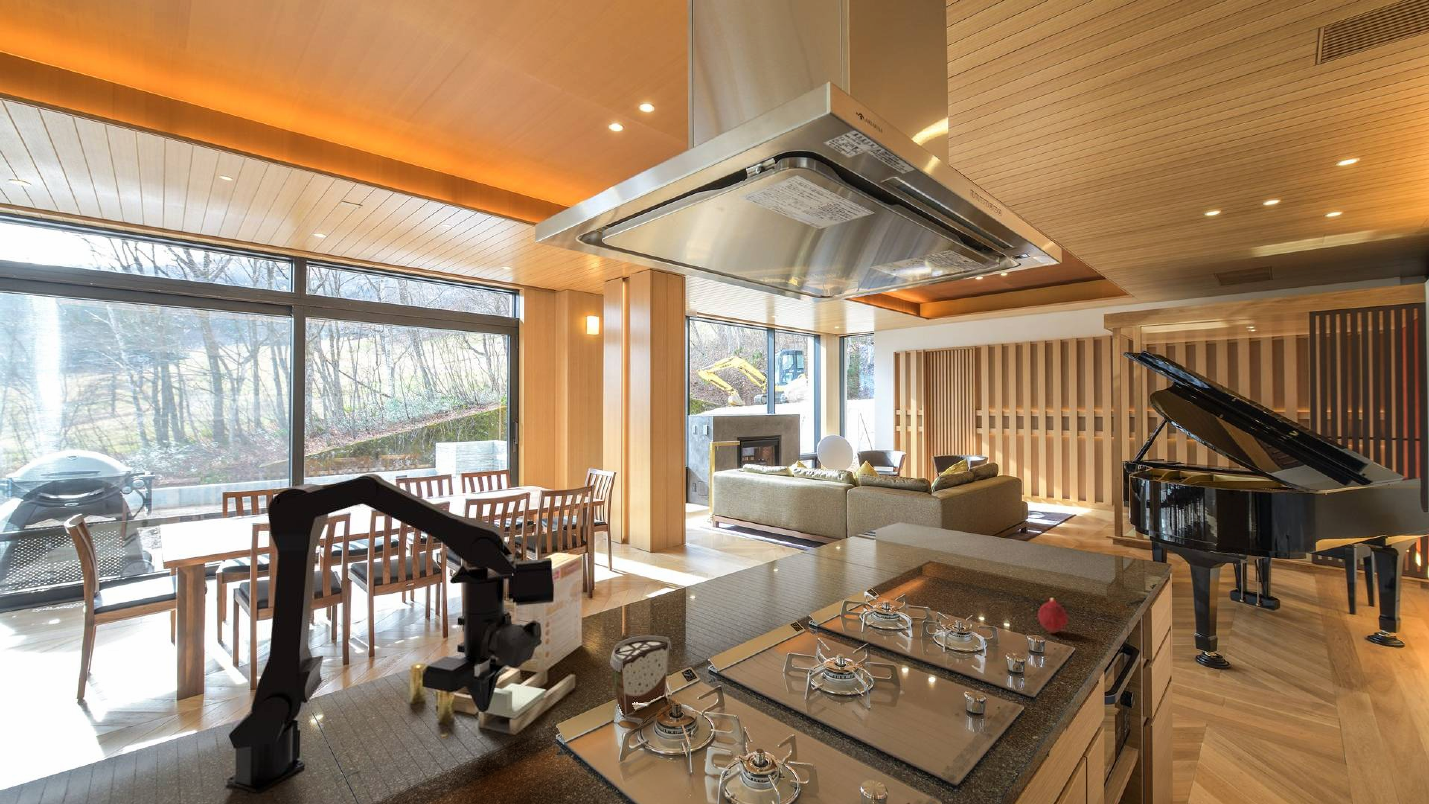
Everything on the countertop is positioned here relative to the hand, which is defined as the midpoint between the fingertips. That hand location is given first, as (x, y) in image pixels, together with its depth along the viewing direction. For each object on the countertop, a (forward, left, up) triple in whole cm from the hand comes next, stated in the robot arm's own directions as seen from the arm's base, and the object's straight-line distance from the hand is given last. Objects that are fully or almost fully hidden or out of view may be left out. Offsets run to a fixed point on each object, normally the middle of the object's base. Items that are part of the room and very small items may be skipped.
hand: (483, 711), depth 90 cm
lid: (+7, 0, -2) cm, 7 cm away
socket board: (+12, +11, -5) cm, 17 cm away
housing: (+12, 0, -5) cm, 12 cm away
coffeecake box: (+30, +9, -5) cm, 32 cm away
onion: (+80, -92, -5) cm, 122 cm away
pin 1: (+7, +20, -5) cm, 21 cm away
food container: (+19, -16, -5) cm, 25 cm away
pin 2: (+3, +10, -5) cm, 12 cm away
